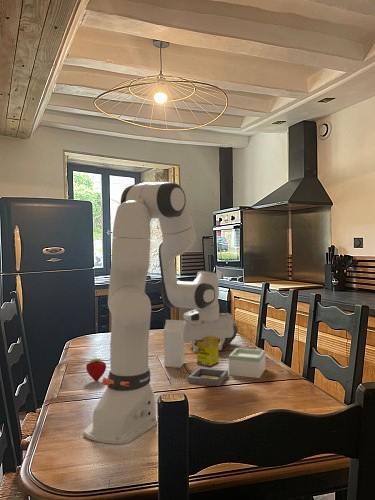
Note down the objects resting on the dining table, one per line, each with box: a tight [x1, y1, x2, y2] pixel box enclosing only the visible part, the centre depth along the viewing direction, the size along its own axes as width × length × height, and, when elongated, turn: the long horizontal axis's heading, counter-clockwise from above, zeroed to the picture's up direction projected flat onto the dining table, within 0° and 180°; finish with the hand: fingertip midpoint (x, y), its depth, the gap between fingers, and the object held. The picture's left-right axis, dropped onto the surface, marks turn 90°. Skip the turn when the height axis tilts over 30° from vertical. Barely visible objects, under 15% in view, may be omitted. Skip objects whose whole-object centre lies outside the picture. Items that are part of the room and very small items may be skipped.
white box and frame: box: [187, 347, 266, 387], centre depth 155 cm, size 25×24×8 cm
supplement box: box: [196, 337, 219, 369], centre depth 151 cm, size 6×6×11 cm
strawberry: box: [85, 355, 107, 382], centre depth 150 cm, size 6×8×10 cm
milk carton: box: [163, 319, 186, 369], centre depth 169 cm, size 7×7×19 cm
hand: (207, 350), depth 151 cm, fingers closed on supplement box, 8 cm apart
